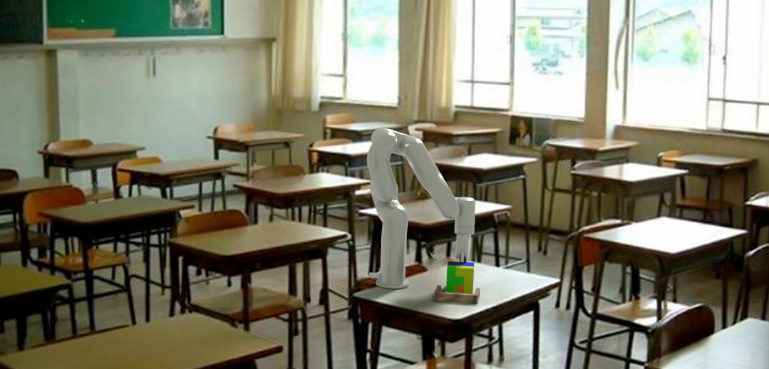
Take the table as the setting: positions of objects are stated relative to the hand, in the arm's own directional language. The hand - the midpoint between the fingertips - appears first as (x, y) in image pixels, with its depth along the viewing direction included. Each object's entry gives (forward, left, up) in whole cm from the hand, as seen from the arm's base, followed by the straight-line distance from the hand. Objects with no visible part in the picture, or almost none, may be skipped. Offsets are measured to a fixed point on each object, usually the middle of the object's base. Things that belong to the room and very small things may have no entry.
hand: (462, 275), depth 415 cm
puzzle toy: (0, -11, -3) cm, 11 cm away
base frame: (0, -23, -3) cm, 23 cm away
